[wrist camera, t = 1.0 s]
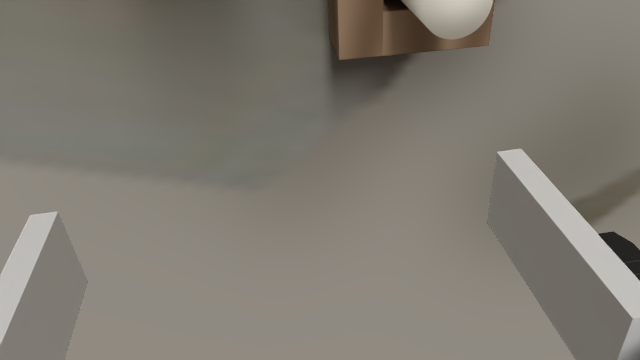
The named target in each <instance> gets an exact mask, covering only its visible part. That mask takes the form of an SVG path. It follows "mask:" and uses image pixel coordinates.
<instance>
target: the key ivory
mask: <svg viewBox="0 0 640 360" xmlns="http://www.w3.org/2000/svg"><path fill="white" fill-rule="evenodd" d="M401 1H402V2H403V3H404V4H405V5H406V6H407V7H408V8H409V9H410V10H411V11H412V12H413V13H414V14H415V15H416V16H417V18H418V19H419V20H420V21H421V22H422V23H423V24H424V25H425V26H426V27H427V28H428V29H429V30H430V31H431V32H432V33H433V34H435V35H436V36H438V37H440V38H444V39H459V38H463V37H465V36H468V35H469V34H471V33H473V32H474V31H476V30H477V29H478V28H479V27H480V26H481V25H482V24H483V23H484V21H485V20H486V18H487V17H488V15H489V13H490V10H491V7H492V4H493V0H401Z"/></svg>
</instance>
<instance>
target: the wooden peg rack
mask: <svg viewBox="0 0 640 360" xmlns="http://www.w3.org/2000/svg"><path fill="white" fill-rule="evenodd" d="M494 2H495V0H493V4H492V7H491V10H490V13H489V15H488V17H487V18H486V20H485V21H484V23H483V24H482V25H481V26H480V27H479V28H478V29H477V30H476V31H474V32H473V33H471V34H469V35H468V36H465V37H463V38H459V39H444V38H440V37H438V36H436V35H435V34H433V33H432V32H431V31H430V30H429V29H428V28H427V27H426V26H425V25H424V24H423V23H422V22H421V21H420V20H419V19H418V18H417V16H416V15H415V14H414V13H413V12H412V11H411V10H410V9H409V8H408V7H407V6H406V5H405V4H404V3H403V2H402V1H401V0H328V8H329V35H330V40H331V43H332V45H333V47H334V49H335V51H336V54H337V56H338V58H339V60H344V59H354V58H365V57H375V56H386V55H396V54H407V53H417V52H428V51H438V50H449V49H459V48H470V47H480V46H489V40H490V32H491V25H492V17H493V10H494Z"/></svg>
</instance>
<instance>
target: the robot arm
mask: <svg viewBox="0 0 640 360" xmlns="http://www.w3.org/2000/svg"><path fill="white" fill-rule="evenodd" d="M487 224H488V225H489V227H490V228H491V230H492V232H493V233H494V235H495V236H496V238H497V239H498V241H499V242H500V244H501V245H502V247H503V248H504V250H505V251H506V253H507V255H508V256H509V258H510V259H511V261H512V262H513V264H514V265H515V267H516V269H517V270H518V272H519V273H520V275H521V276H522V278H523V279H524V281H525V282H526V284H527V285H528V287H529V289H530V290H531V292H532V293H533V295H534V296H535V298H536V299H537V301H538V302H539V304H540V306H541V307H542V309H543V310H544V312H545V313H546V315H547V316H548V318H549V320H550V321H551V323H552V324H553V326H554V327H555V329H556V330H557V332H558V333H559V335H560V337H561V338H562V340H563V341H564V343H565V344H566V346H567V347H568V349H569V350H570V352H571V353H572V355H573V357H574V358H575V360H640V250H639V249H638V248H637V247H636V246H635V245H634V244H633V243H632V242H630V241H628V240H627V239H625V238H623V237H622V236H620V235H618V234H616V233H615V232H608V233H601V234H597V233H596V232H595V231H594V229H593V228H592V227H591V226H590V225H589V224H588V223H587V222H586V220H585V219H584V218H583V217H582V216H581V215H580V214H579V213H578V212H577V210H576V209H575V208H574V207H573V206H572V205H571V204H570V203H569V202H568V200H567V199H566V198H565V197H564V196H563V195H562V194H561V193H560V192H559V191H558V189H557V188H556V187H555V186H554V185H553V184H552V183H551V182H550V180H549V179H548V178H547V177H546V176H545V175H544V174H543V173H542V172H541V170H540V169H539V168H538V167H537V166H536V165H535V164H534V163H533V161H532V160H531V159H530V158H529V157H528V156H527V155H526V154H525V153H524V152H523V150H522V149H515V150H508V151H500V152H497V155H496V162H495V169H494V177H493V183H492V191H491V198H490V206H489V212H488V220H487ZM87 283H88V280H87V278H86V276H85V273H84V271H83V269H82V266H81V264H80V262H79V260H78V257H77V255H76V252H75V250H74V248H73V245H72V243H71V240H70V238H69V236H68V234H67V231H66V229H65V227H64V224H63V222H62V219H61V217H60V215H59V213H58V212H50V213H43V214H35V215H30V217H29V219H28V221H27V223H26V225H25V227H24V229H23V231H22V233H21V235H20V237H19V239H18V241H17V243H16V245H15V247H14V249H13V251H12V253H11V255H10V257H9V259H8V261H7V263H6V265H5V267H4V269H3V271H2V273H1V275H0V360H64V359H65V356H66V353H67V350H68V346H69V343H70V340H71V336H72V333H73V329H74V326H75V323H76V319H77V316H78V313H79V310H80V306H81V303H82V300H83V296H84V293H85V290H86V286H87Z"/></svg>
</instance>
